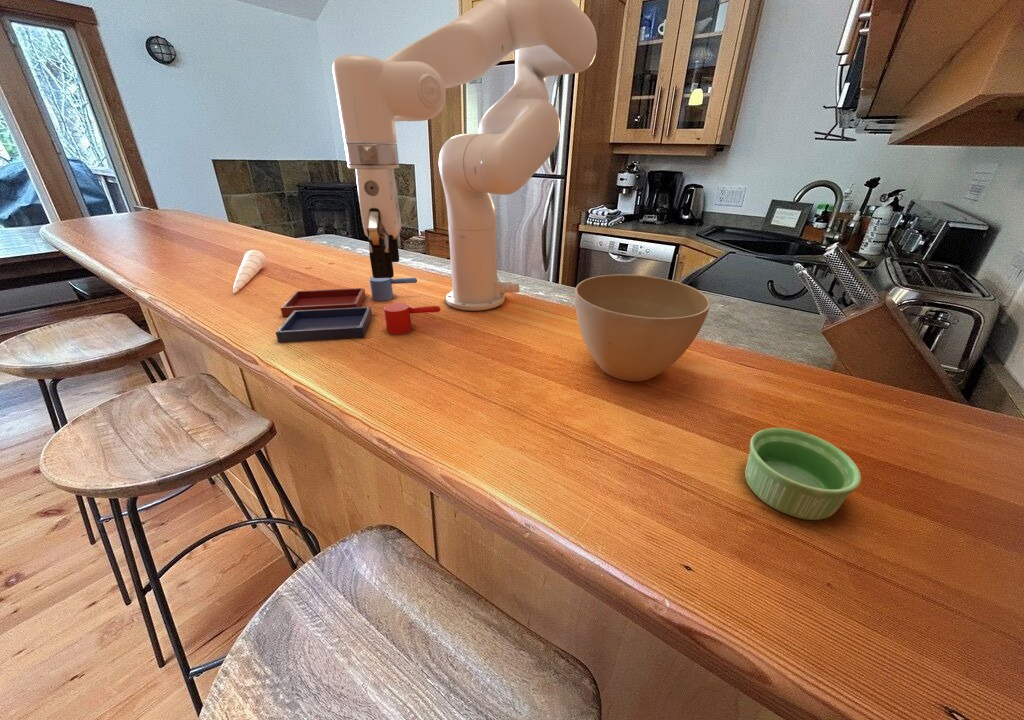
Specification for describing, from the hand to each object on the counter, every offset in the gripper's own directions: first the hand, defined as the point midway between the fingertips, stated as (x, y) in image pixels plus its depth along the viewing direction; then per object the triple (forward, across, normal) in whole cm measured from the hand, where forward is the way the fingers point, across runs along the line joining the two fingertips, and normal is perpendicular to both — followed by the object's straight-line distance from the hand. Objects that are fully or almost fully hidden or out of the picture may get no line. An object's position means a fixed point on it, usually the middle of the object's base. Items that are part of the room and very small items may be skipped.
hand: (387, 269), depth 70 cm
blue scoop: (+11, +18, +2) cm, 21 cm away
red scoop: (+11, 0, -4) cm, 12 cm away
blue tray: (+11, +3, +12) cm, 17 cm away
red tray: (+11, +14, +15) cm, 24 cm away
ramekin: (+12, -46, -43) cm, 64 cm away
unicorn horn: (+12, +37, +39) cm, 55 cm away
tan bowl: (+11, -20, -37) cm, 43 cm away
